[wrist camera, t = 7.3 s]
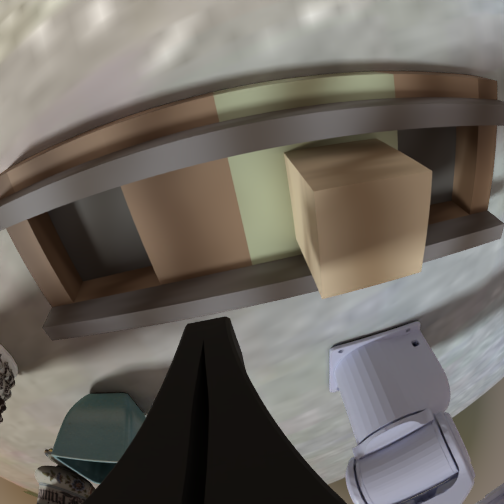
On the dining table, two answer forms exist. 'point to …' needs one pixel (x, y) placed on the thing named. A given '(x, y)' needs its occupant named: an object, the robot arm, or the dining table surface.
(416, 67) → the dining table surface
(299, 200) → the maple block
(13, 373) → the black and white cylinder
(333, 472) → the dining table surface
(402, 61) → the dining table surface
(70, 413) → the flower pot
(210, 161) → the trap box
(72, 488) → the apothecary jar
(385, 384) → the robot arm
